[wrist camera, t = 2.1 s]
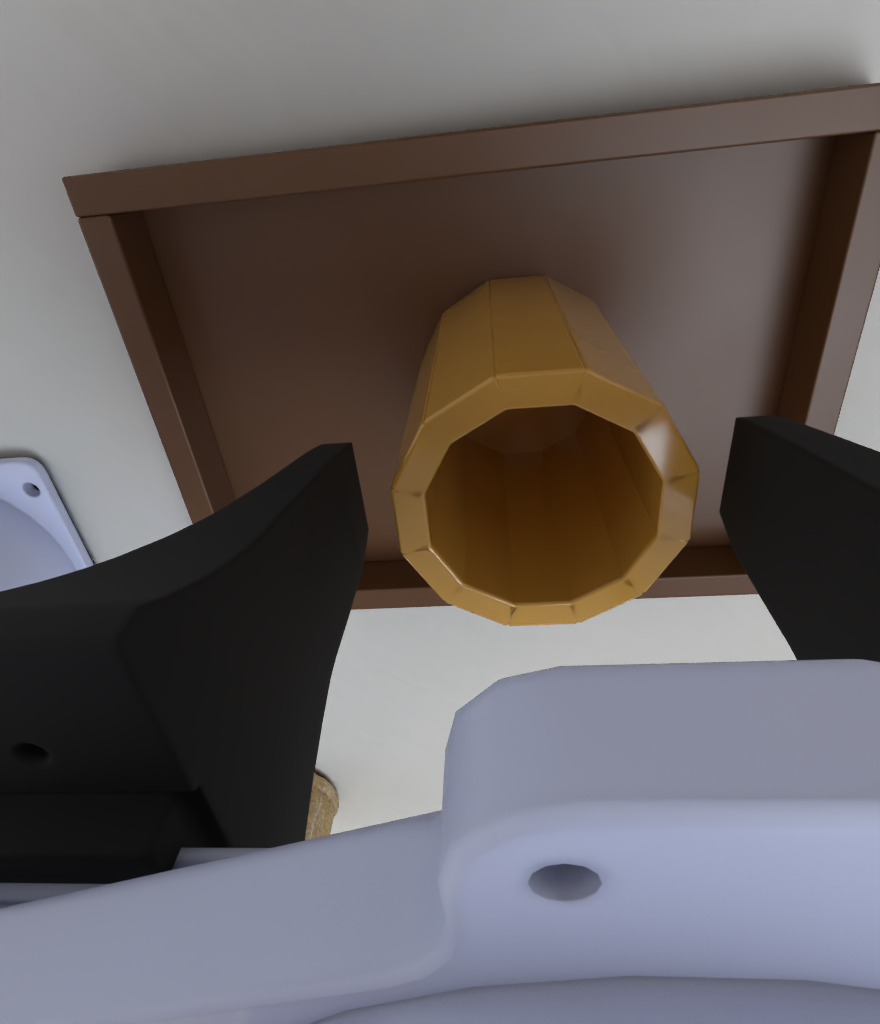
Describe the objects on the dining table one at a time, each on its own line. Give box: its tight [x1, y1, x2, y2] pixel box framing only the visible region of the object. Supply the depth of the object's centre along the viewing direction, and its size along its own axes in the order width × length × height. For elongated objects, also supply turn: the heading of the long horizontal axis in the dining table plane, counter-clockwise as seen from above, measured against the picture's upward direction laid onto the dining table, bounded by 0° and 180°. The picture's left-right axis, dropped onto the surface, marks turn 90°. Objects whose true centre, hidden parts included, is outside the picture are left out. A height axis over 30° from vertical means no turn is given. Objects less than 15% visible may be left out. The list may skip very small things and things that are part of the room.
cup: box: [390, 275, 700, 626], centre depth 13 cm, size 5×5×7 cm
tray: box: [62, 83, 880, 609], centre depth 16 cm, size 13×18×2 cm
